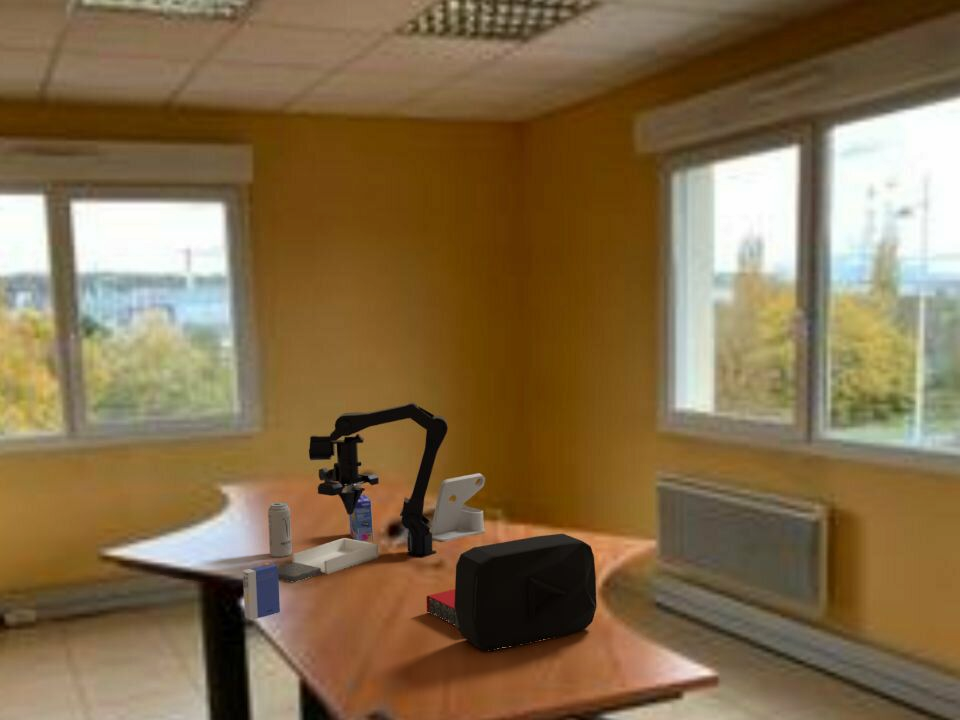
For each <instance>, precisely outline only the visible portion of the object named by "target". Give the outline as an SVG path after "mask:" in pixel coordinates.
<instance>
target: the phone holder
mask: <svg viewBox="0 0 960 720" xmlns="http://www.w3.org/2000/svg"><path fill="white" fill-rule="evenodd" d="M479 479H480V480H479ZM478 480H479V482H477V481H478ZM485 483H486V477H485V476H484V475H483V474H481V473H480V472H478V473H473V474H467V475H463V476H462V475H461V476H458V477H457V476H456V477H452V478H447V479H444V480H443V481H442V482H440V485H439V490H438V494H437V499H436V503H435V508H434V513H433V518H432V523H431V526H430V532H432V540H434V541H438V542H441V543H442V542H449V541H454V540H457V539H462V538H466V537H470V536H474V535H479V534H483V533H485V531H486V529H485V528H484V510H482V509H479V508H474V507H471V506H464V504H466V502H467V501H469V500H470V499H472V497H474V496H475V494H477V493H478V492H479V491H480V490H482V488H483V487H484V486H485ZM452 496H455V499H453V501H452V502H451V503H450V502H449V501H450V498H451V497H452Z"/></svg>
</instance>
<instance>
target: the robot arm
mask: <svg viewBox="0 0 960 720" xmlns="http://www.w3.org/2000/svg"><path fill="white" fill-rule="evenodd" d="M406 419H410V420H412V421H414V423H416V424H418V425H419V426H420V427H422V428H423V429H424V430H425V431H426V435H425V442H424V443H425V444H424V445H425V446H424V450H423V453H422V456H421V460H420V464H419V469H418V472H417V474H416V477H415V478H416V479H415V482H414V486H413V489H412V492H411V495H410V496H409V498H407V497H406V496H405V497H404V499H403V505H402V507H401V509H400V513H399V516H400V517H401V524H402V526H403V527H404V528H405V529H407V530H408V531H407V537H406V538H407V551H406V552H404V555H406V556H410V557H415V558H421V559H422V558H426V557H428V556H431V555H434V554H436V553H437V550H434V549H433V539H432V532H431V520H429V519H428V518H427V517H426V516H425V515H424V507H425V505H424V504H425V496H426V494H427V490H428V486H429V483H430V479H431V475H432V472H433V469H434V465H435V462H436V461H435V460H436V458H437V454H438V451H439V450H440V448H441V446H442V444H443V442H444V440H445V438H446V435H447V434H448V427H449V425H448V421H447V419H446V418H445V417H444V416H442V415H438V414H436V415H434V414H433V413H431V412H430V411H428V410H426V409H424V408H423V407H421V406H419V405H418V404H417V403H416V402H408V403H406V404H401V405H398V406H392V407H388V408H384V409H379V410H375V411H368V412H344V413H342V414H340V415H339V416H338V418H337V419H336V420H335V424H334V430H333V431H331V432H330V434H329V435H316V434H315V435H311V436H309V437H310V438H309V440H310V441H309V449H308V455H309V456H308V457H309V460H310V461H329V460H332V458H333V457H335V455H336V460H337V461H336V462H334V464H333V468H331V469H328V467H322V468H320V469H318V477H319V478H318V479H319V480H320V481H324V482H321V483H319V484H318V486H317V494H319V495H324V496H331V497H333V496H337V495H338V497H340V499H341V501H342V504H343V506H344V509H345V511H346V513H347V515H348V516H349V515H351V514H353V511H354V509H355V507H356V504H357V502H358V500H359V498H360V496H361V494H363V493H364V491H366V488H364V487H362V484H366V483H368V484H369V485H371V486H375V485H378V484H380V483H379V476H378V475H377V473H372V472H362V473H360V471H359V467H362V461H359V455H358V453H359V452H358V444H363V443H364V441H365V438H364V437H362V436H361V434H360V433H358V432H361V431H363V430H365V429H368V428H370V427H374V426H379V425H384V424H389V423H392V422H398V421H402V420H406ZM354 434H355V436H353V435H354ZM342 437H344V438H343V439H340V438H342Z"/></svg>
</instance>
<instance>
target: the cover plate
mask: <svg viewBox="0 0 960 720" xmlns="http://www.w3.org/2000/svg"><path fill="white" fill-rule="evenodd" d="M318 574H320V575H321V568H318V567H313V566H309V565H305V564H300V563H296V562H295V563H293V562H292V563H288V564H285V565H282V566H278V580H279V579H280V580H283V579H284V581H287V580H288V581H287V582H291V581H293V582H292V583H297V582H296V581H298V580H301V581H303V580H302V579H304V580H306V579H305V578H307V579H309V578H308V577H310V578H312V577H311V576H313V577H315V576H314V575H316V576H319V575H318ZM298 582H299V581H298Z"/></svg>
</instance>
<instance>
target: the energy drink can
mask: <svg viewBox="0 0 960 720" xmlns="http://www.w3.org/2000/svg"><path fill="white" fill-rule="evenodd" d="M267 519H268V537H269V538H268V539H269V542H268V543H269V555H270V556H271V557H273V558H285V556H286V557H289V556H290V555H291V554H293V550H292V549H293V548H292V529H291V527H292V526H291V509H290V507H289V505H288V502H285V501H277V502H272V503H270V504H269V508H268V510H267ZM288 555H289V556H288Z"/></svg>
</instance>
